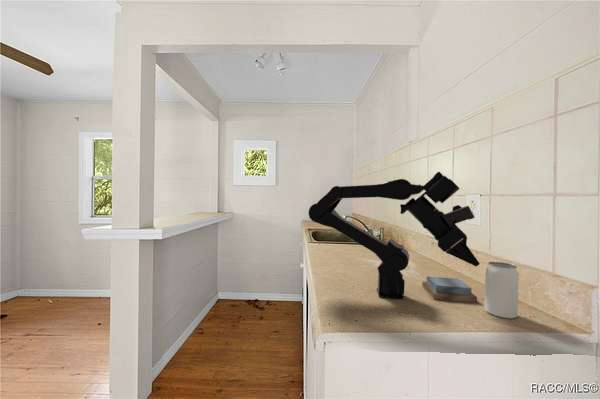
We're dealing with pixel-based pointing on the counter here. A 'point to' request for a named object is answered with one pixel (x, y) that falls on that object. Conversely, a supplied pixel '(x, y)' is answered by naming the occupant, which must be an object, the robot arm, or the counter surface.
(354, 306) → the counter surface
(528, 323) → the counter surface
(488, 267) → the can
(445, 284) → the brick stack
